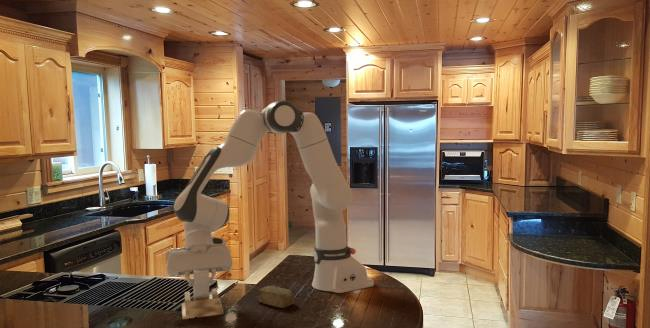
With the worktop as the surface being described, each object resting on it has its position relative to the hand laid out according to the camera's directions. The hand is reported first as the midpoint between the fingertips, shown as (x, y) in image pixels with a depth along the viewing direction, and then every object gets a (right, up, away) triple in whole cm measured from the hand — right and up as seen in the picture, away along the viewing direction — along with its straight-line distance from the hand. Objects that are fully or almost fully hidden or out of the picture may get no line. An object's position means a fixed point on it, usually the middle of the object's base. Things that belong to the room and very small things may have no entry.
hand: (201, 284), depth 140 cm
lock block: (0, -5, +1) cm, 5 cm away
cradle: (0, -8, +1) cm, 8 cm away
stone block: (+23, -8, +6) cm, 25 cm away
